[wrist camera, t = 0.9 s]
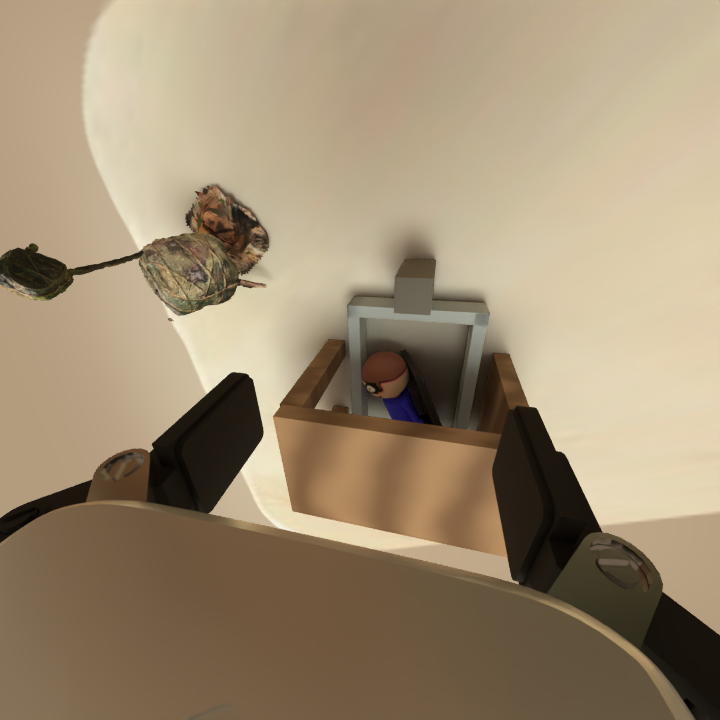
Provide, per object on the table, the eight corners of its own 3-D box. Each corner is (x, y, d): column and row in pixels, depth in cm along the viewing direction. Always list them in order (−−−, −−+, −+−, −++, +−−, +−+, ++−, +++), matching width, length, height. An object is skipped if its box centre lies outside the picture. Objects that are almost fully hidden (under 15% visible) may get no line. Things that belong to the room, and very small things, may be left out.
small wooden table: (509, 354, 33) (548, 456, 20) (488, 438, 39) (509, 557, 26) (328, 339, 37) (270, 416, 25) (335, 417, 43) (290, 510, 31)
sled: (493, 261, 29) (506, 281, 23) (457, 460, 41) (459, 506, 35) (353, 257, 31) (332, 275, 26) (359, 444, 44) (346, 485, 38)
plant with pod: (241, 300, 37) (76, 395, 21) (180, 210, 34) (-83, 235, 17) (292, 272, 34) (144, 356, 17) (230, 167, 30) (-35, 147, 14)
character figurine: (407, 438, 42) (366, 342, 37) (461, 433, 39) (425, 327, 34) (394, 484, 36) (343, 378, 30) (458, 483, 33) (413, 364, 27)
